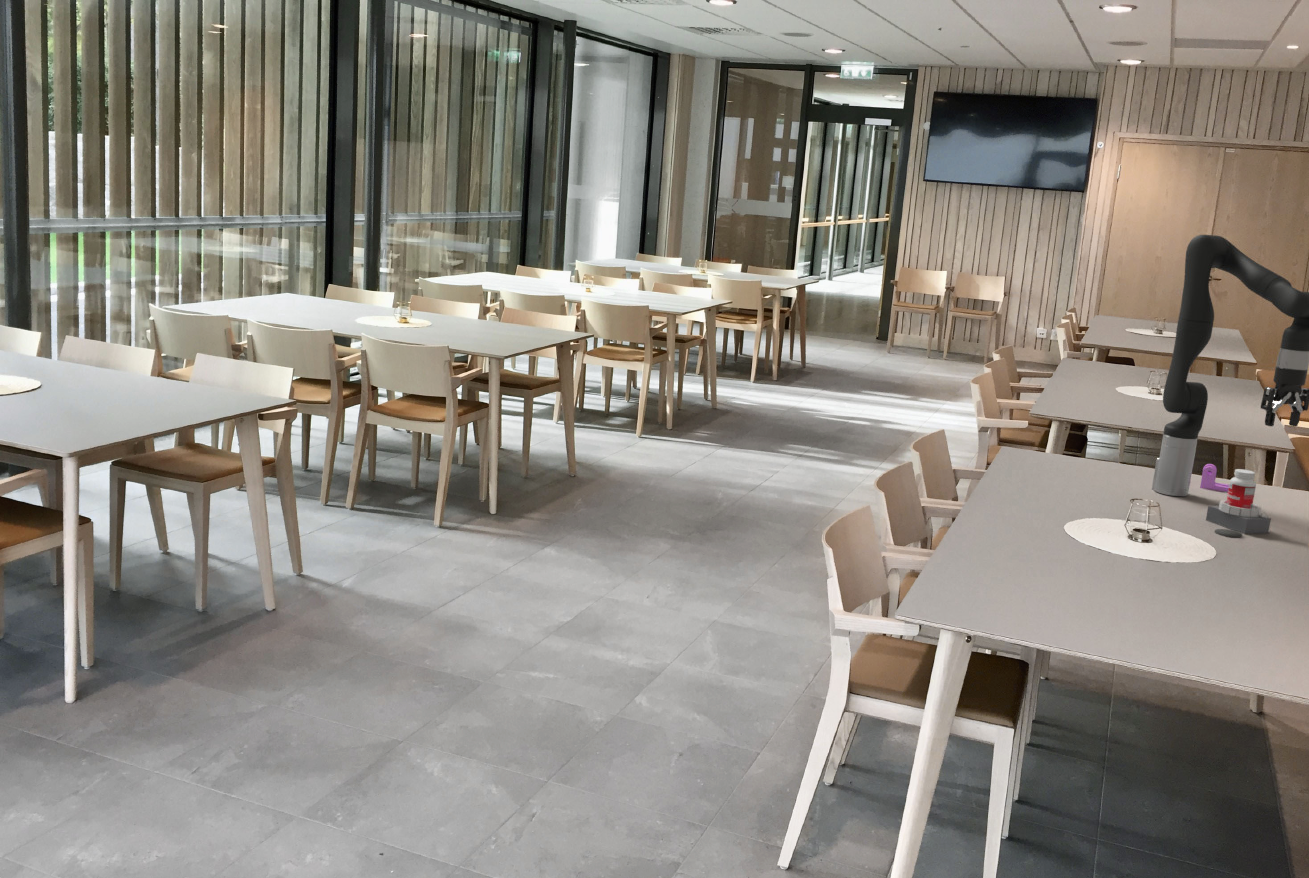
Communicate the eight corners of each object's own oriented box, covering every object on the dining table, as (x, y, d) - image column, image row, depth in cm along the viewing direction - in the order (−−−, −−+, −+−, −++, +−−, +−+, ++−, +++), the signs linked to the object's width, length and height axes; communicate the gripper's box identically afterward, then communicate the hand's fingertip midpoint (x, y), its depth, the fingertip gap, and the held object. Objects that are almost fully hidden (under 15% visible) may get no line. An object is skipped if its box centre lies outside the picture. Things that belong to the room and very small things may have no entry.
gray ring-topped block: (1203, 520, 304) (1207, 498, 303) (1231, 519, 307) (1234, 497, 306) (1242, 534, 292) (1246, 511, 291) (1270, 532, 295) (1274, 510, 294)
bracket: (1200, 488, 344) (1203, 466, 343) (1200, 484, 349) (1204, 462, 348) (1247, 495, 339) (1251, 473, 337) (1247, 491, 344) (1251, 469, 342)
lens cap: (1208, 532, 293) (1209, 529, 293) (1227, 531, 295) (1228, 528, 295) (1228, 539, 287) (1228, 536, 287) (1247, 538, 289) (1248, 535, 289)
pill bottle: (1220, 508, 301) (1226, 468, 299) (1240, 508, 302) (1247, 468, 300) (1234, 514, 295) (1242, 473, 293) (1256, 515, 296) (1263, 474, 294)
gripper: (1300, 365, 308) (1289, 423, 311) (1260, 364, 303) (1249, 423, 306) (1324, 369, 301) (1312, 428, 304) (1283, 368, 296) (1272, 428, 299)
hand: (1281, 425), depth 305 cm, fingers open, 8 cm apart
